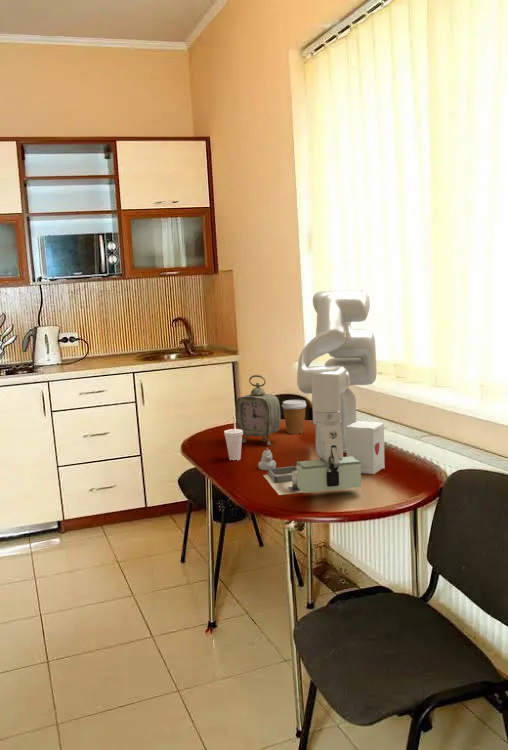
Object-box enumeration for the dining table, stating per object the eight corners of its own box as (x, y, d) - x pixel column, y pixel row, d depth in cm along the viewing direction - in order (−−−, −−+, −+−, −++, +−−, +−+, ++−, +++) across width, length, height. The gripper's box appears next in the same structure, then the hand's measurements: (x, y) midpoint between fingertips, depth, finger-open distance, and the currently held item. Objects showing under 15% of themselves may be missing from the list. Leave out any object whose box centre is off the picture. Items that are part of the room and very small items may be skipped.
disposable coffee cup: (308, 434, 266) (307, 403, 264) (283, 435, 266) (281, 404, 264) (306, 429, 275) (305, 398, 273) (282, 430, 275) (281, 400, 273)
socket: (296, 471, 214) (296, 465, 213) (304, 479, 205) (304, 473, 205) (268, 474, 212) (267, 468, 212) (274, 483, 203) (274, 476, 203)
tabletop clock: (237, 443, 257) (233, 376, 253) (251, 438, 264) (247, 372, 261) (270, 447, 249) (267, 377, 245) (284, 441, 256) (281, 374, 253)
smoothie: (242, 462, 232) (240, 420, 230) (223, 461, 233) (221, 420, 231) (246, 456, 238) (244, 416, 236) (227, 456, 239) (225, 416, 237)
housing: (353, 480, 194) (352, 456, 193) (361, 486, 189) (360, 461, 188) (297, 486, 191) (296, 461, 190) (303, 493, 185) (302, 467, 184)
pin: (299, 487, 198) (299, 470, 197) (302, 489, 196) (301, 472, 195) (291, 488, 198) (290, 470, 197) (293, 490, 195) (292, 473, 195)
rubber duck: (263, 475, 216) (262, 450, 214) (255, 470, 222) (254, 445, 220) (279, 472, 217) (278, 447, 216) (271, 467, 224) (270, 443, 222)
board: (333, 471, 216) (332, 467, 216) (355, 490, 197) (355, 485, 196) (263, 479, 212) (262, 474, 211) (279, 499, 192) (278, 494, 192)
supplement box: (374, 478, 207) (373, 428, 205) (346, 475, 212) (344, 426, 210) (385, 470, 215) (384, 422, 213) (358, 467, 220) (357, 420, 217)
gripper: (351, 421, 180) (353, 490, 182) (330, 410, 196) (332, 472, 199) (323, 424, 178) (325, 493, 181) (304, 412, 195) (306, 475, 197)
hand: (329, 481), depth 190 cm, fingers closed on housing, 6 cm apart
